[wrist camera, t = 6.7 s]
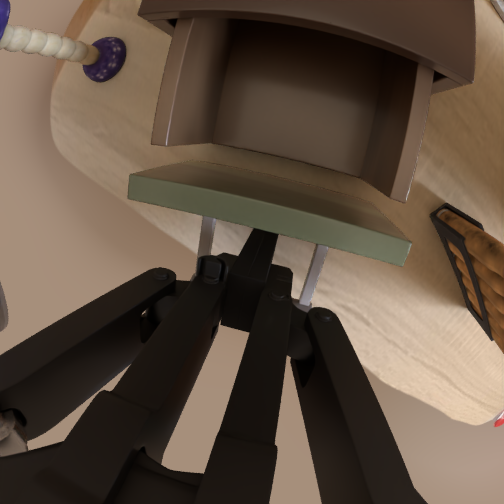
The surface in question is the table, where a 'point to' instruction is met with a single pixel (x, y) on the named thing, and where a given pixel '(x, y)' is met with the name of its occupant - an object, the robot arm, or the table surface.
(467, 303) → the ammunition clip
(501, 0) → the monster figurine
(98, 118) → the table surface
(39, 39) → the toy lamp
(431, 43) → the cabinet
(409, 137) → the drawer
